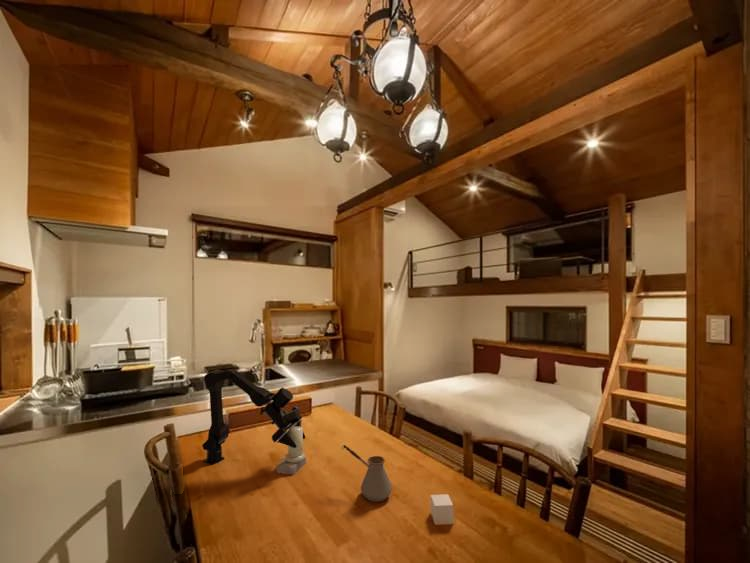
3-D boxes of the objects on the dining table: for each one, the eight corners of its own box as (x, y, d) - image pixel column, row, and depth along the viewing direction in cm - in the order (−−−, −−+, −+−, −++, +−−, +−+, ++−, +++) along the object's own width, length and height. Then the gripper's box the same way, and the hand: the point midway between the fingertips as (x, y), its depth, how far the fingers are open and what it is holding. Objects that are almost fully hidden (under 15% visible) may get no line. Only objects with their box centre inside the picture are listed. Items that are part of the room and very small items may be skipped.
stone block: (274, 478, 141) (295, 476, 139) (272, 466, 142) (294, 463, 140) (288, 465, 153) (308, 463, 150) (286, 454, 153) (306, 452, 151)
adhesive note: (430, 513, 114) (430, 494, 115) (448, 512, 115) (448, 494, 115) (435, 525, 108) (434, 505, 109) (453, 524, 109) (453, 504, 109)
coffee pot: (397, 492, 126) (397, 451, 127) (381, 509, 117) (381, 464, 117) (351, 477, 138) (351, 439, 138) (333, 490, 128) (333, 450, 129)
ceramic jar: (281, 461, 143) (282, 430, 144) (290, 454, 150) (291, 425, 152) (299, 463, 141) (300, 431, 143) (307, 456, 149) (308, 426, 150)
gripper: (278, 409, 138) (304, 439, 135) (298, 396, 156) (320, 422, 153) (260, 427, 139) (285, 457, 136) (282, 412, 157) (304, 438, 155)
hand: (300, 442), depth 145 cm, fingers open, 9 cm apart
